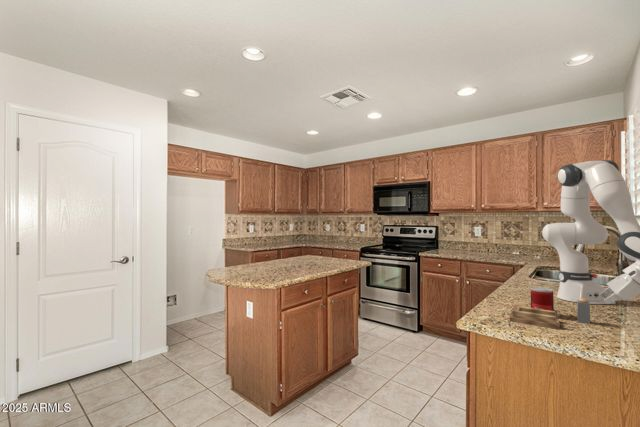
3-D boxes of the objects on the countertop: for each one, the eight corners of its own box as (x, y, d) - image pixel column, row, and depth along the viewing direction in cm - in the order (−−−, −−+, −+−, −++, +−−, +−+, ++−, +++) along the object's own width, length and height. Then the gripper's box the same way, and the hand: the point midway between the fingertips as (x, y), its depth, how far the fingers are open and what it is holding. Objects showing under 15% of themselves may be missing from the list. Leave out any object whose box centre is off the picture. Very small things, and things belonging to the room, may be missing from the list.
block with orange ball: (589, 321, 121) (588, 298, 121) (590, 324, 118) (589, 300, 118) (577, 319, 123) (576, 297, 124) (578, 322, 121) (577, 299, 121)
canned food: (557, 317, 126) (557, 291, 126) (536, 316, 128) (535, 290, 128) (547, 312, 134) (547, 287, 134) (527, 310, 135) (527, 286, 135)
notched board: (558, 321, 122) (558, 311, 122) (559, 329, 113) (559, 318, 113) (511, 313, 131) (511, 304, 131) (509, 320, 122) (509, 311, 123)
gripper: (623, 266, 121) (591, 287, 127) (636, 274, 105) (599, 298, 111) (640, 279, 119) (606, 300, 124) (655, 289, 102) (616, 312, 108)
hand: (603, 299), depth 117 cm, fingers open, 8 cm apart
